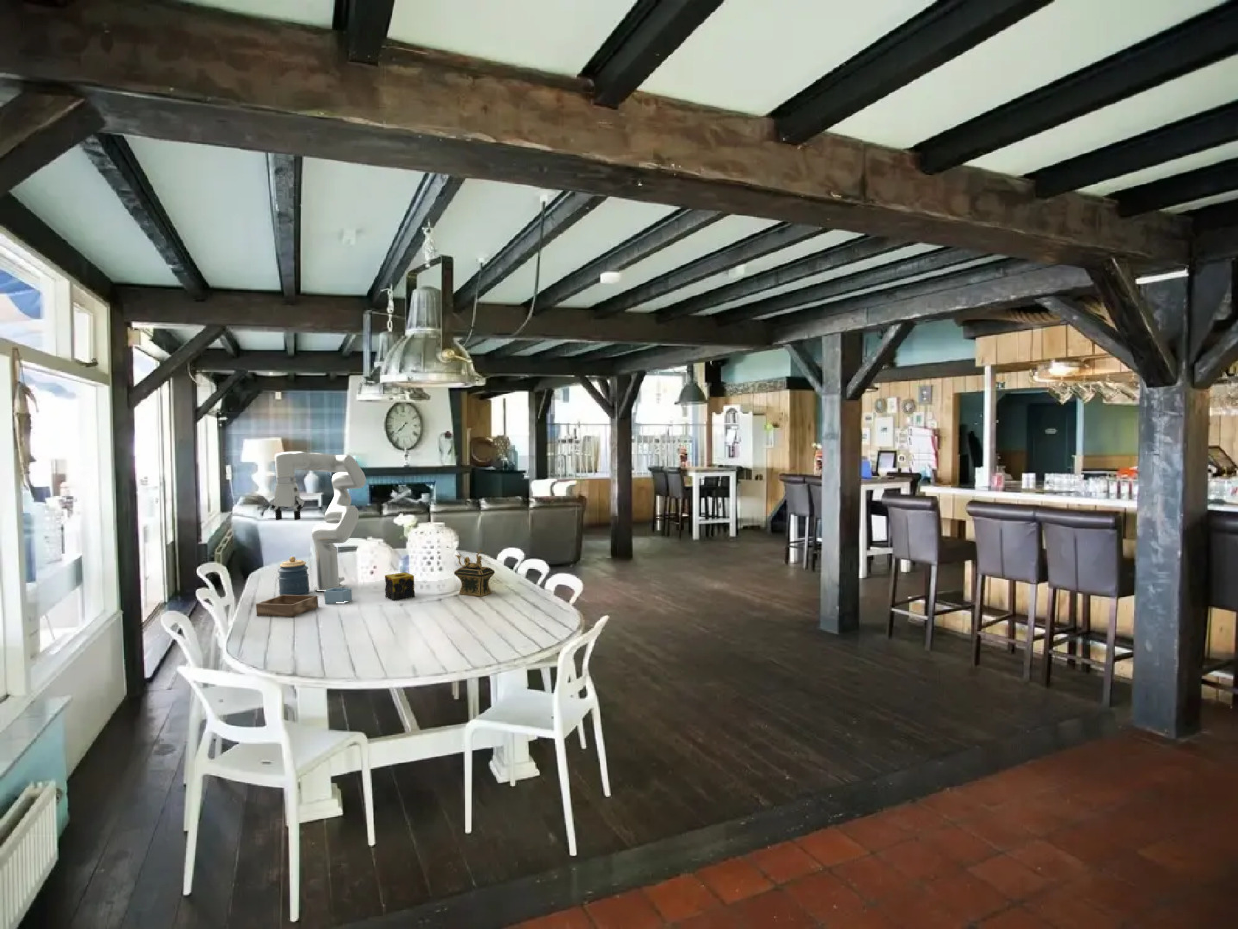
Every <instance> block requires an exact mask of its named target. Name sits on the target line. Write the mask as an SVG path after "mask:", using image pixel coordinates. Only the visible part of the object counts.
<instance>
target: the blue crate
mask: <svg viewBox="0 0 1238 929" xmlns="http://www.w3.org/2000/svg"><path fill="white" fill-rule="evenodd" d="M352 593H353V592H352V588H351V587H348V588H347V587H342V588H332V589H329V590H326V591H324V592H323V594H324V595H323V596H324V604H326V605H332V604H331V603H336V602H344V601H350V600H352V601H353V594H352ZM350 602H351V601H350Z"/></svg>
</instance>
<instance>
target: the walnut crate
mask: <svg viewBox="0 0 1238 929" xmlns="http://www.w3.org/2000/svg"><path fill="white" fill-rule="evenodd" d="M318 598H319V597H318V595H307V594H305V595H281V596H280V595H277V596H275V597H272V598H269V599H267V600H264V601H260V602H257V603H255V609H256V610H255V611H256V616H257V617H276V618H277V617H278V618H281V617H282V618H284V617H285V618H295V617H297V616H299V615H301V614H305V613H308V612H309V611H312V610H316V609H318V608H319V599H318Z"/></svg>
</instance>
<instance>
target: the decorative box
mask: <svg viewBox="0 0 1238 929" xmlns="http://www.w3.org/2000/svg"><path fill="white" fill-rule="evenodd" d="M457 552H458V553H459V555H458V554H456V555H455V557H456V558H457V560H458V564H459V565H460V566H461V567H459V568H457V569H456V570H455V571H454V572H453V574H454V576H456V577H457V578H458V579H459V581H460V584H461V586H460V590H459V592H458V595H461V596H462V595H464V596H472V597H473V596H474V597H483V596H486V595H487V596H488V595H490V594H491V593H492V590H491V588H490V585H489V584H490V583H489V582H490V579H491V578H492V577H493V576H494V574H495V570H494V569H492V568H491V567H488V566H483V565H482V558H483V557H482V555H479V554H480V553H482V548H481V549H479V551H478V553H476V562H471V561H470V560H471V559H470V557H469V556H466V557H465V558H463V559H464V560H463V562H464V564H462V563H461V562H462V561H461V558H462V557H461V556H462V555H461V553H460V551H459V550H457Z"/></svg>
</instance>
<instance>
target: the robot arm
mask: <svg viewBox="0 0 1238 929" xmlns="http://www.w3.org/2000/svg"><path fill="white" fill-rule="evenodd" d="M274 466H275V480H276V482H275V483H276V484H275V487H274V498H272V499H270V500H269V503H270V505H271V509H273V511H274V513H275V514H274V515H275V520H276V521H279V520H283V514H282V512H283V511H282V508H285V507H286V508H287V507H288V508H292V509H294V510H293V517H294V518H293V519H294V521H298V520H299V521H300V520H301V518H302V517H301V511H302V510H303V507H304V505H305V502H306V501H305V499H303V498H301V496H300V490H299V485H298V484H297V483H296V482H297V481H298V480H297V478H296V475H295V474H296V473H295V472H296V470H300V471H307V472H308V471H310V472H325V473H334V474H333V475H332V476H331V477H332V478H331V485H332V489H333V498H332V500H331V502H330V504H329V505H328V508H327V510H326V511H325V513H324V517H323V518H324V521H325V522H321V523H317V524H315V526H313V528H312V530H311V537H312V541H313V544H314V552H315V567H316V581H317V582H316V584H317V585H316V586H315V587H314V588H313V591H315V592H316V591H317V590H329V589H332V588H344V586H343V584H342V583H341V582H344V581H345V577H344V576H341V577H339V576H340V575H339V562H338V560H339V558H338V551H337V548H336V545H335V544H344V543H346V542H347V541H348V540H349V539H350V537H351V535H352V533H353V531H354V530H355V528H356V525H357V523H358V522H359V515H360V514H359V509H358V508H357V507H356V506H354V505H351V504H352V496H351V495H350V493H349V490H352V489H353V490H354V489H355V490H357V489H362V488H364V486H365V485H366V483H367V480H366V475H365V473H364V471H363V470H362V468H361V467H360V465H359V463H358V462H357V461H356V459H355V458H354V457H353V456H352V455H350V454H330V453H322V452H321V453H320V452H305V451H284V452H279V453H278V452H277V453H276V454H275V455H274ZM348 489H349V490H348Z"/></svg>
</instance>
